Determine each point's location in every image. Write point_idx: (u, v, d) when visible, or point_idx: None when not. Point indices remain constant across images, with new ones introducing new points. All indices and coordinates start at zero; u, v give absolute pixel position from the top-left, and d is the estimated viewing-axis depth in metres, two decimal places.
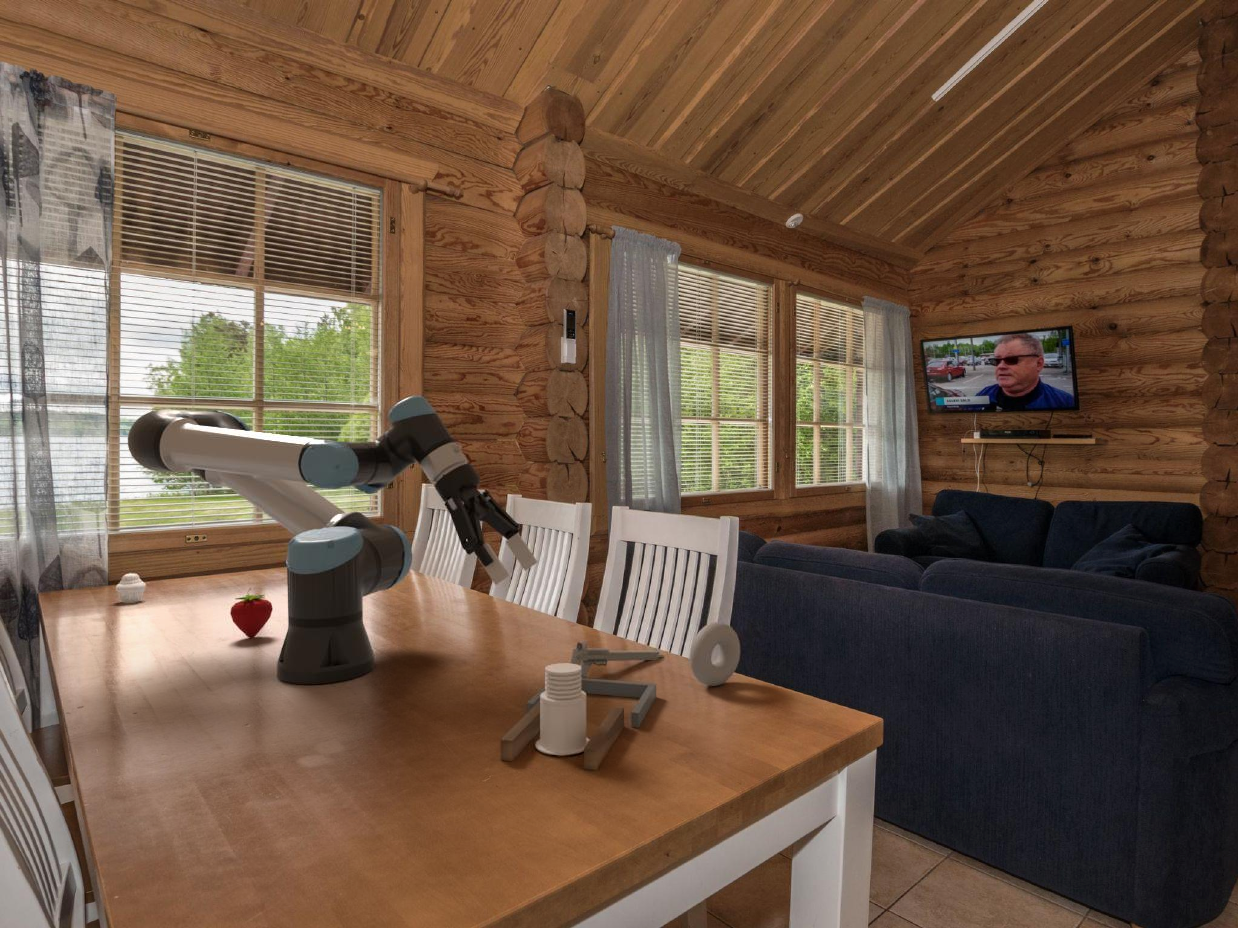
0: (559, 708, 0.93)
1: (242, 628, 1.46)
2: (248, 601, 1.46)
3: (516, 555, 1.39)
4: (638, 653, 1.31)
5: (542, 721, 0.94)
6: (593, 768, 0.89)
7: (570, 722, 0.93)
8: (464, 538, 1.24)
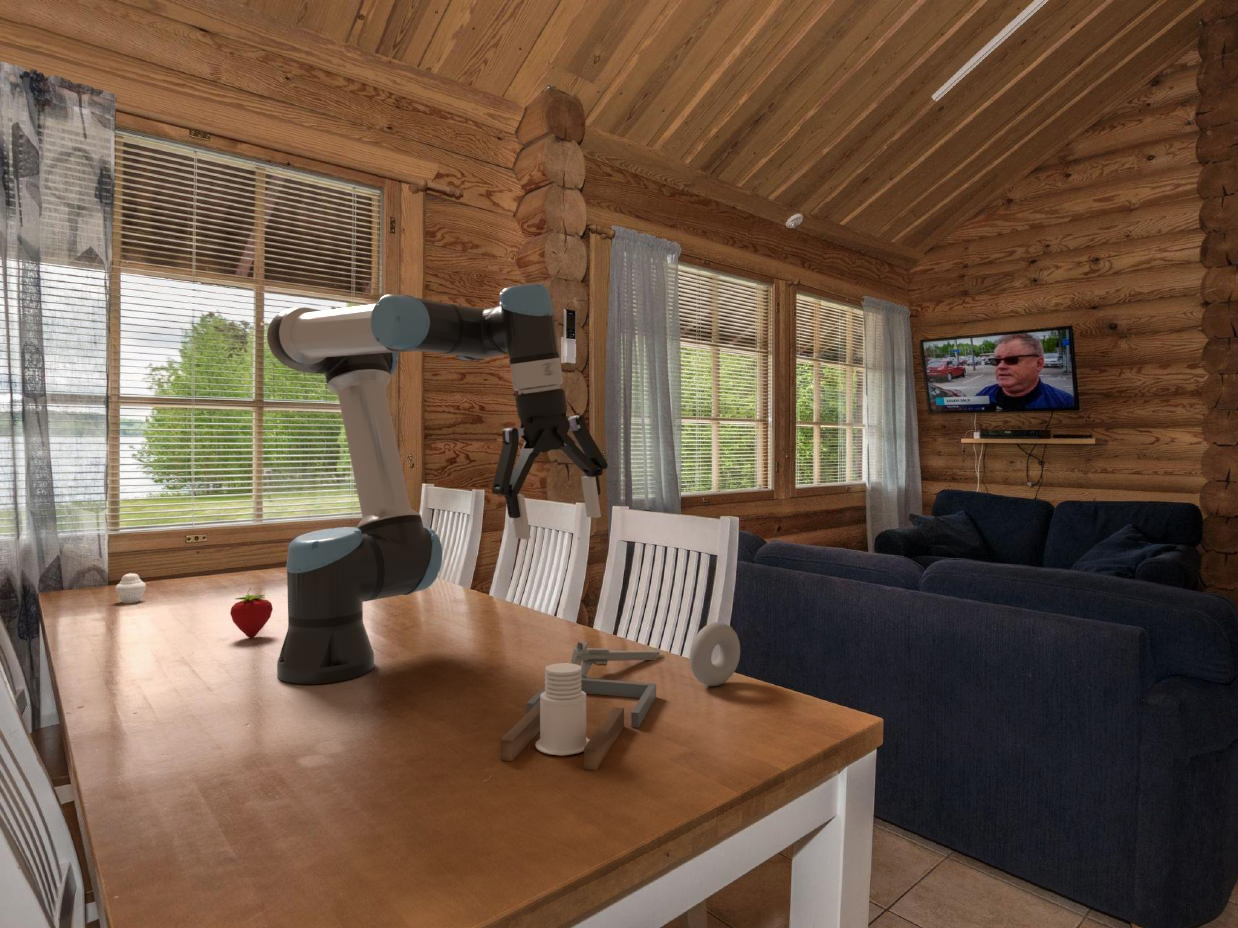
0: (559, 708, 0.93)
1: (242, 628, 1.46)
2: (248, 601, 1.46)
3: (585, 497, 1.21)
4: (638, 653, 1.31)
5: (542, 721, 0.94)
6: (593, 768, 0.89)
7: (570, 722, 0.93)
8: (496, 482, 1.10)
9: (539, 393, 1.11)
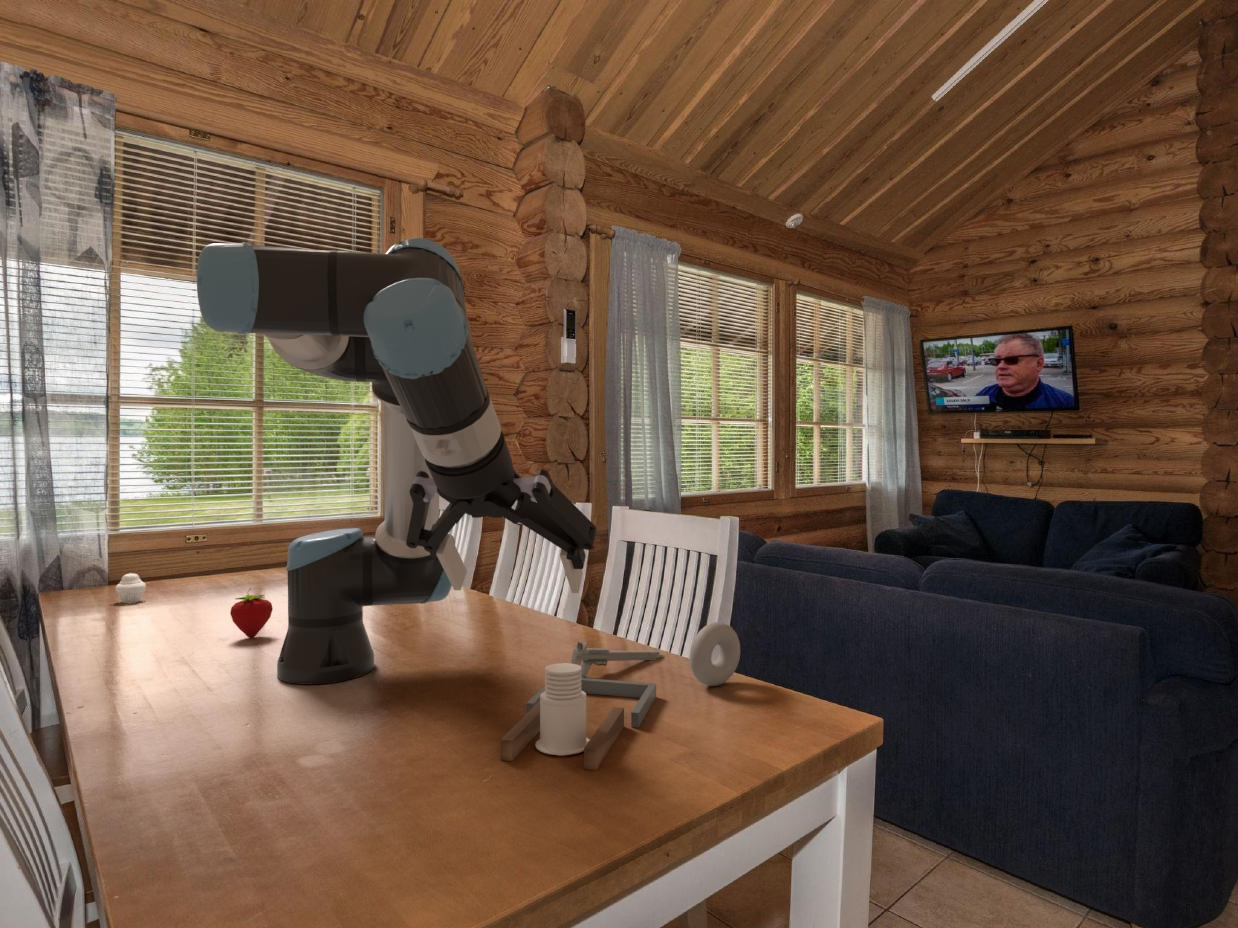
0: (559, 708, 0.93)
1: (242, 628, 1.46)
2: (248, 601, 1.46)
3: None
4: (638, 653, 1.31)
5: (542, 721, 0.94)
6: (593, 768, 0.89)
7: (570, 722, 0.93)
8: None
9: (433, 468, 0.68)
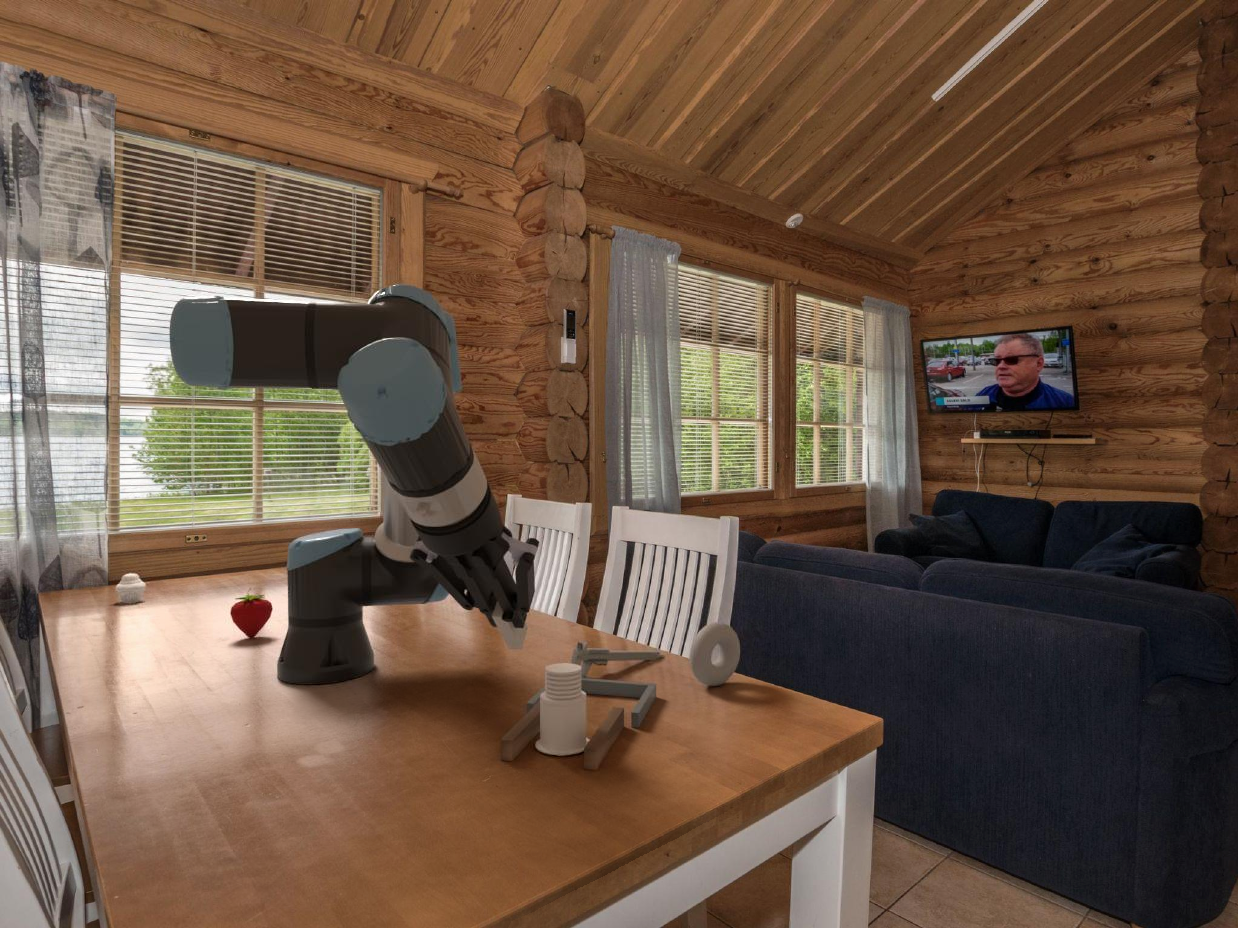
0: (559, 708, 0.93)
1: (242, 628, 1.46)
2: (248, 601, 1.46)
3: None
4: (638, 653, 1.31)
5: (542, 721, 0.94)
6: (593, 768, 0.89)
7: (570, 722, 0.93)
8: None
9: (417, 526, 0.66)
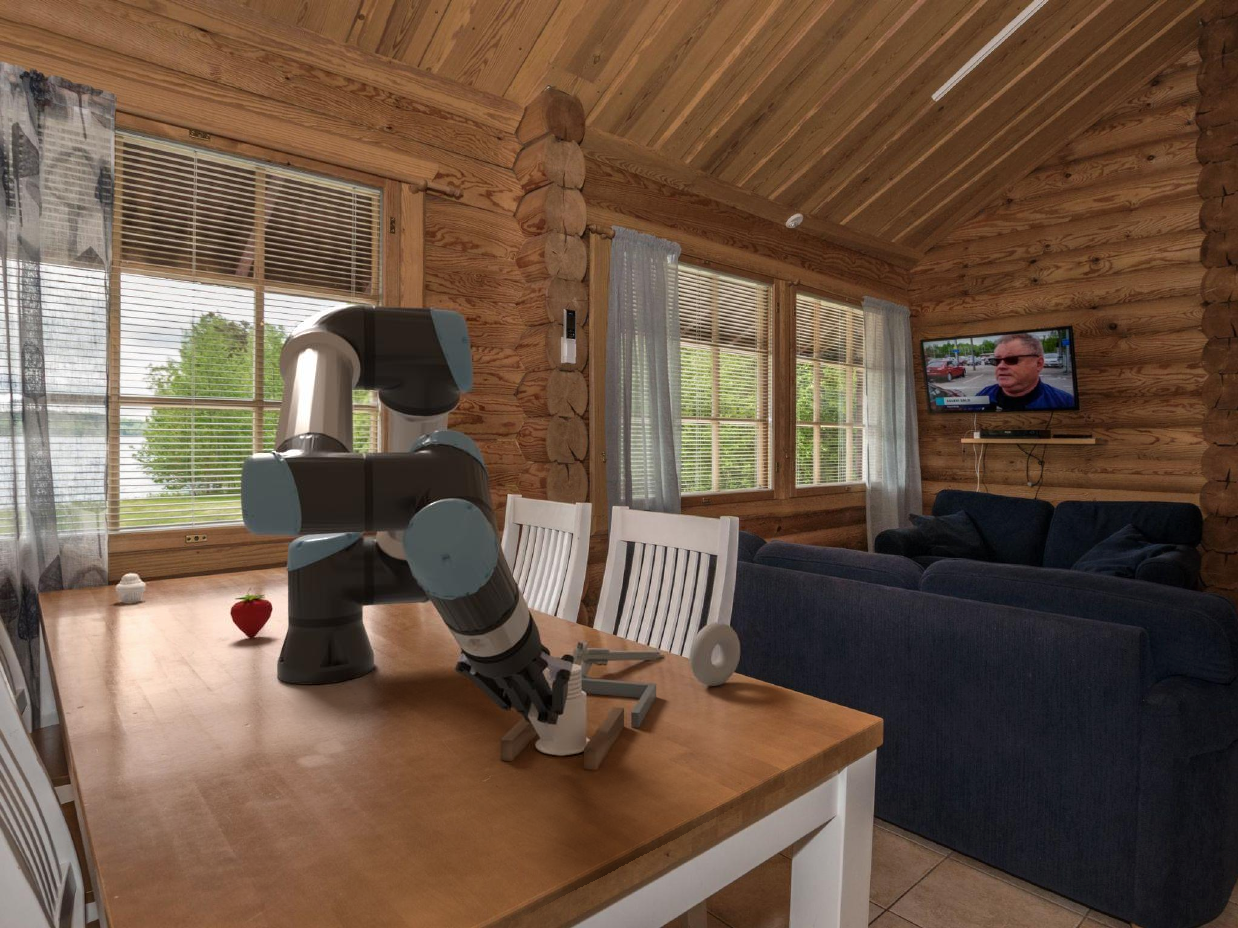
0: None
1: (242, 628, 1.46)
2: (248, 601, 1.46)
3: None
4: (638, 653, 1.31)
5: None
6: (593, 768, 0.89)
7: (570, 722, 0.93)
8: None
9: (466, 652, 0.73)
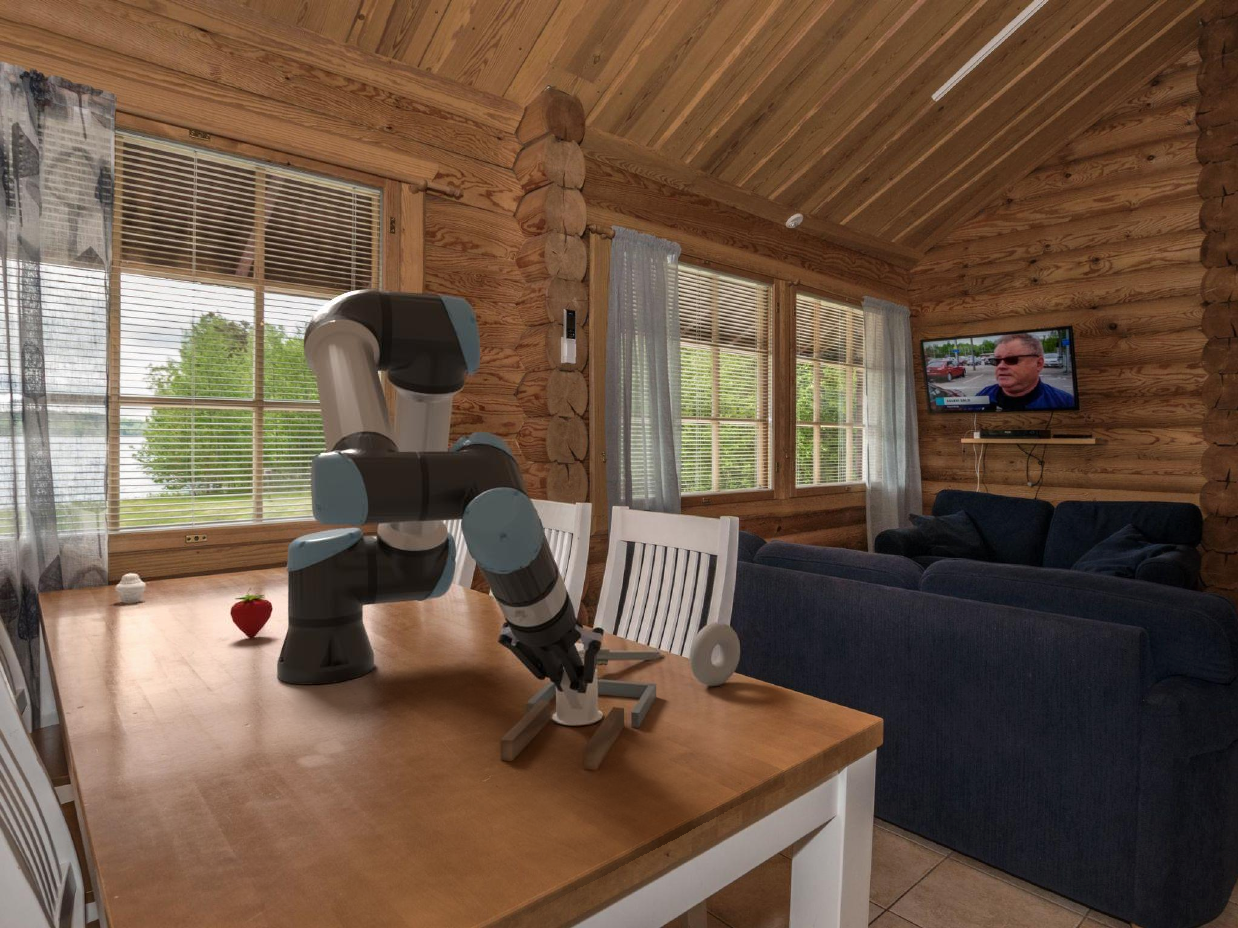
0: None
1: (242, 628, 1.46)
2: (248, 601, 1.46)
3: None
4: (639, 653, 1.31)
5: None
6: (593, 768, 0.89)
7: None
8: None
9: (511, 624, 0.83)
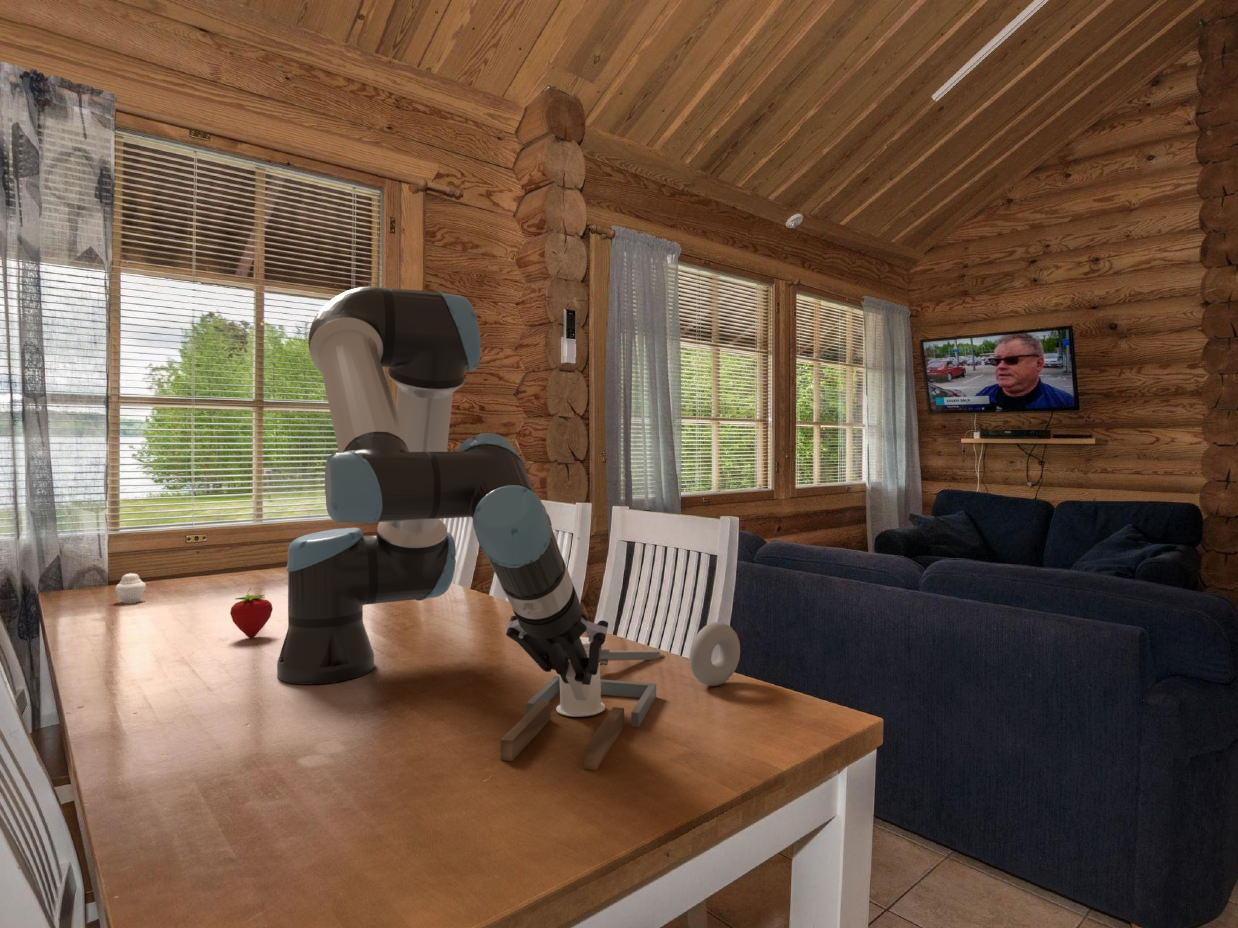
0: None
1: (242, 628, 1.46)
2: (248, 601, 1.46)
3: None
4: (639, 653, 1.31)
5: None
6: (593, 768, 0.89)
7: None
8: None
9: (519, 617, 0.87)
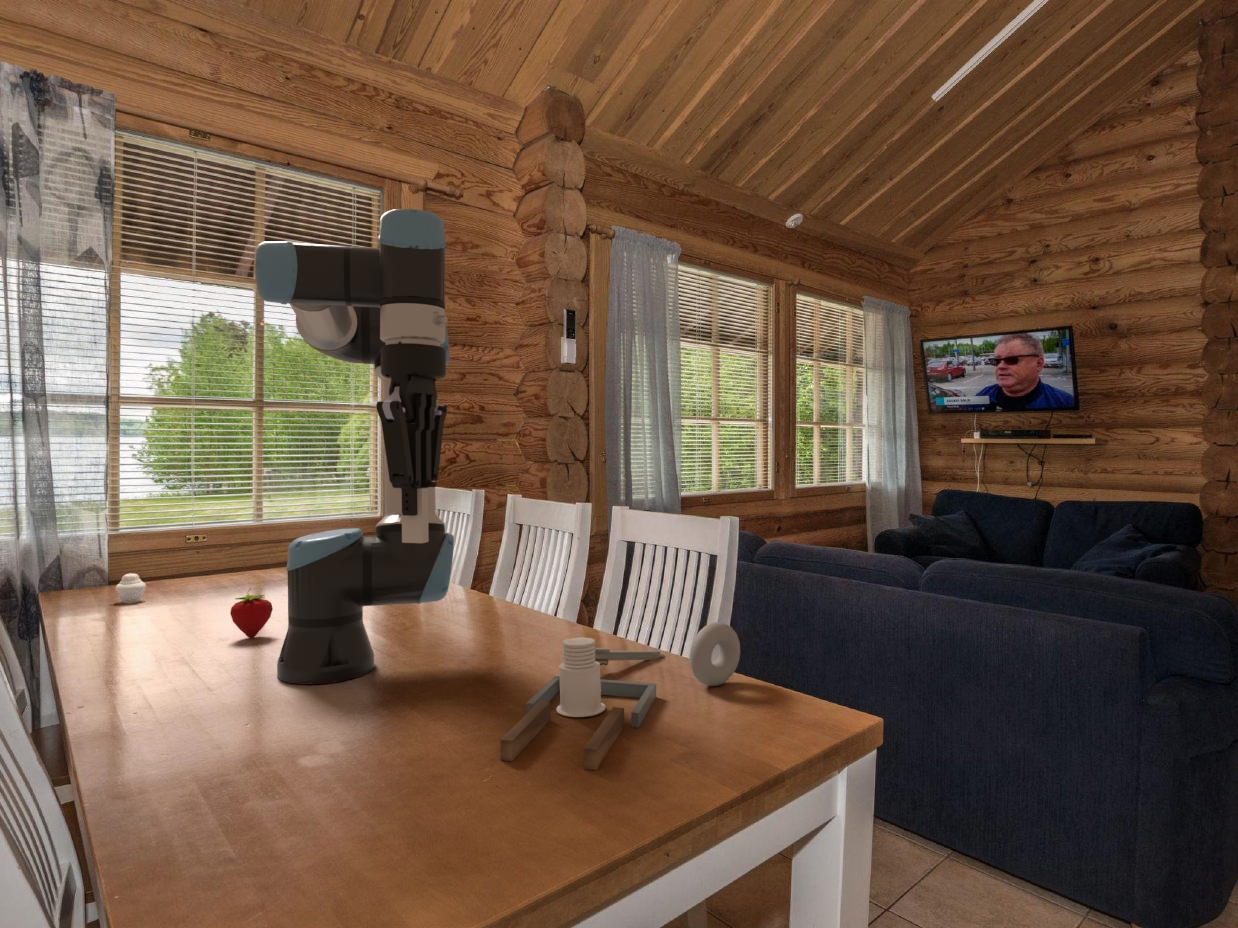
0: (591, 674, 1.06)
1: (242, 628, 1.46)
2: (248, 601, 1.46)
3: None
4: (639, 653, 1.31)
5: (573, 691, 1.06)
6: (593, 768, 0.89)
7: None
8: (395, 471, 0.87)
9: (427, 346, 0.88)
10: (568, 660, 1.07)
